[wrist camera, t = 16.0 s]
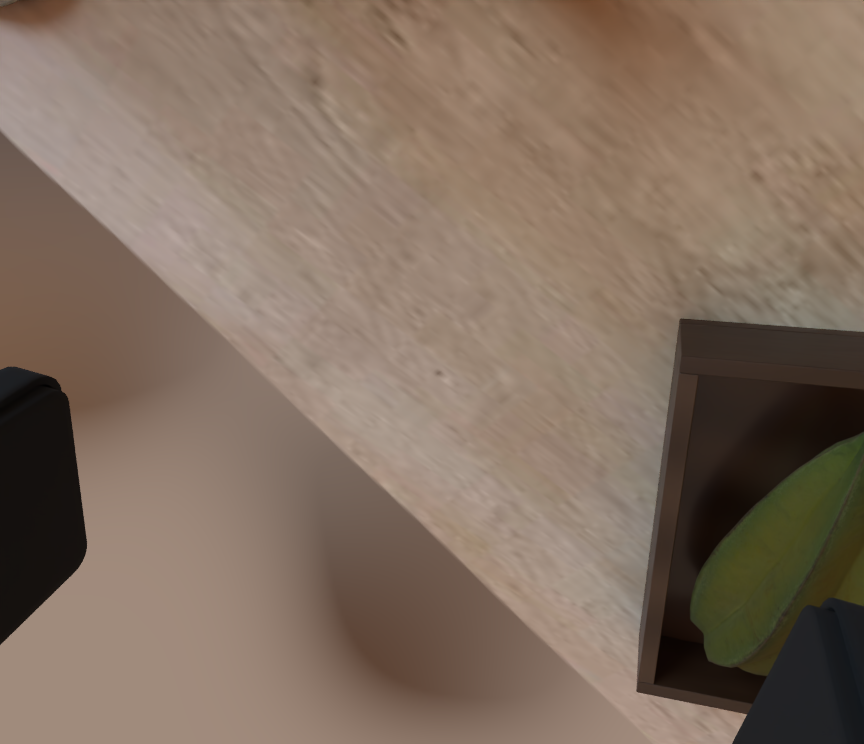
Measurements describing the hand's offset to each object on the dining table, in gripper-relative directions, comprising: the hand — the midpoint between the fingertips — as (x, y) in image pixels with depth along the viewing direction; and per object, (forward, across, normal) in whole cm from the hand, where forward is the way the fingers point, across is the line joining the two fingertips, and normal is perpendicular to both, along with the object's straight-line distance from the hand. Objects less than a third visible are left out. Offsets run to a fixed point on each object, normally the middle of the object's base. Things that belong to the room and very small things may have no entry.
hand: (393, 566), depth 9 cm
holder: (+26, -14, +15) cm, 33 cm away
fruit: (+19, -14, +16) cm, 29 cm away
